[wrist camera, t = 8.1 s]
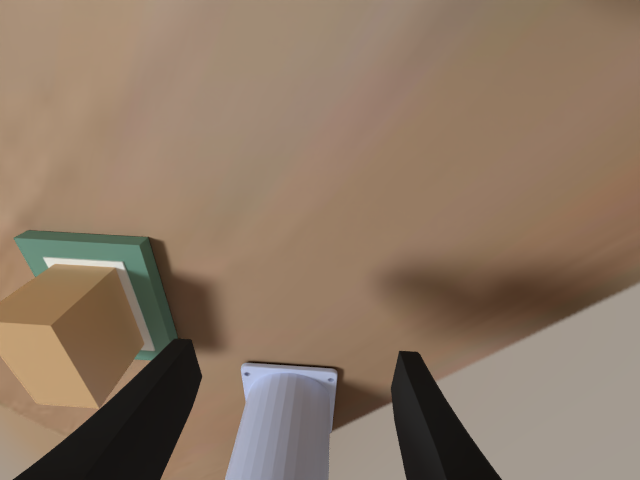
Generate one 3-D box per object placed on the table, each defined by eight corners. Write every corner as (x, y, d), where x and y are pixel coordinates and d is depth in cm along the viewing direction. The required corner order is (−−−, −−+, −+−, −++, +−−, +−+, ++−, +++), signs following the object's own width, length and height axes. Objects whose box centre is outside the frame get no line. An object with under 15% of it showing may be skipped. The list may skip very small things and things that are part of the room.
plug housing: (144, 343, 23) (99, 408, 18) (93, 340, 23) (37, 404, 19) (115, 267, 19) (50, 325, 15) (54, 263, 19) (-27, 320, 15)
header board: (182, 351, 25) (156, 397, 21) (88, 345, 25) (48, 390, 21) (148, 237, 19) (106, 274, 16) (27, 230, 19) (-40, 265, 16)
